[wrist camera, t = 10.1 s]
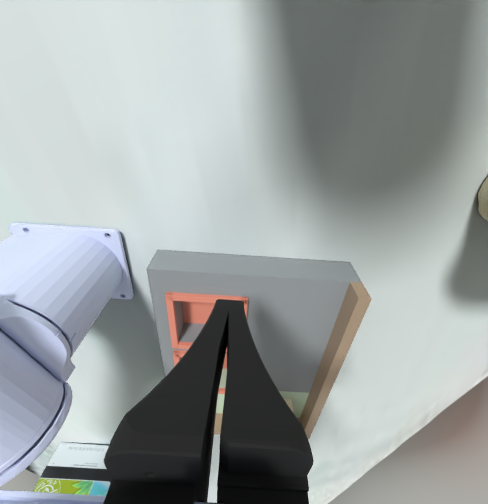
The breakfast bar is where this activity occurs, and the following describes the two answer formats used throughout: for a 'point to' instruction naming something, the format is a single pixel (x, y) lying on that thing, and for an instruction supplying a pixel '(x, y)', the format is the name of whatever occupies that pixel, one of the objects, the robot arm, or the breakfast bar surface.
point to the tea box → (76, 470)
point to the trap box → (264, 317)
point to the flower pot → (483, 200)
